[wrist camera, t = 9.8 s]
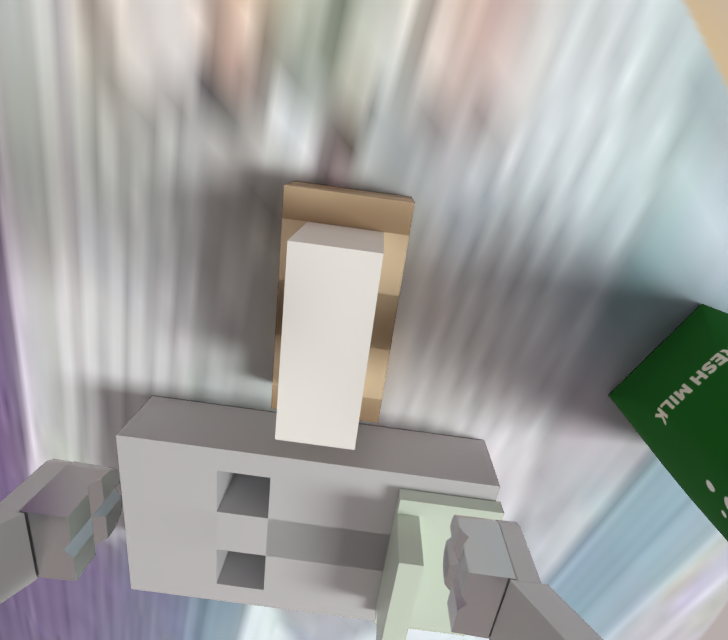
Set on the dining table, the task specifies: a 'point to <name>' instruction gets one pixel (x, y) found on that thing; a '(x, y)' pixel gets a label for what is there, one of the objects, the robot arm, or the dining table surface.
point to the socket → (275, 505)
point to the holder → (395, 222)
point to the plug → (326, 332)
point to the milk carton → (687, 409)
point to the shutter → (421, 562)
